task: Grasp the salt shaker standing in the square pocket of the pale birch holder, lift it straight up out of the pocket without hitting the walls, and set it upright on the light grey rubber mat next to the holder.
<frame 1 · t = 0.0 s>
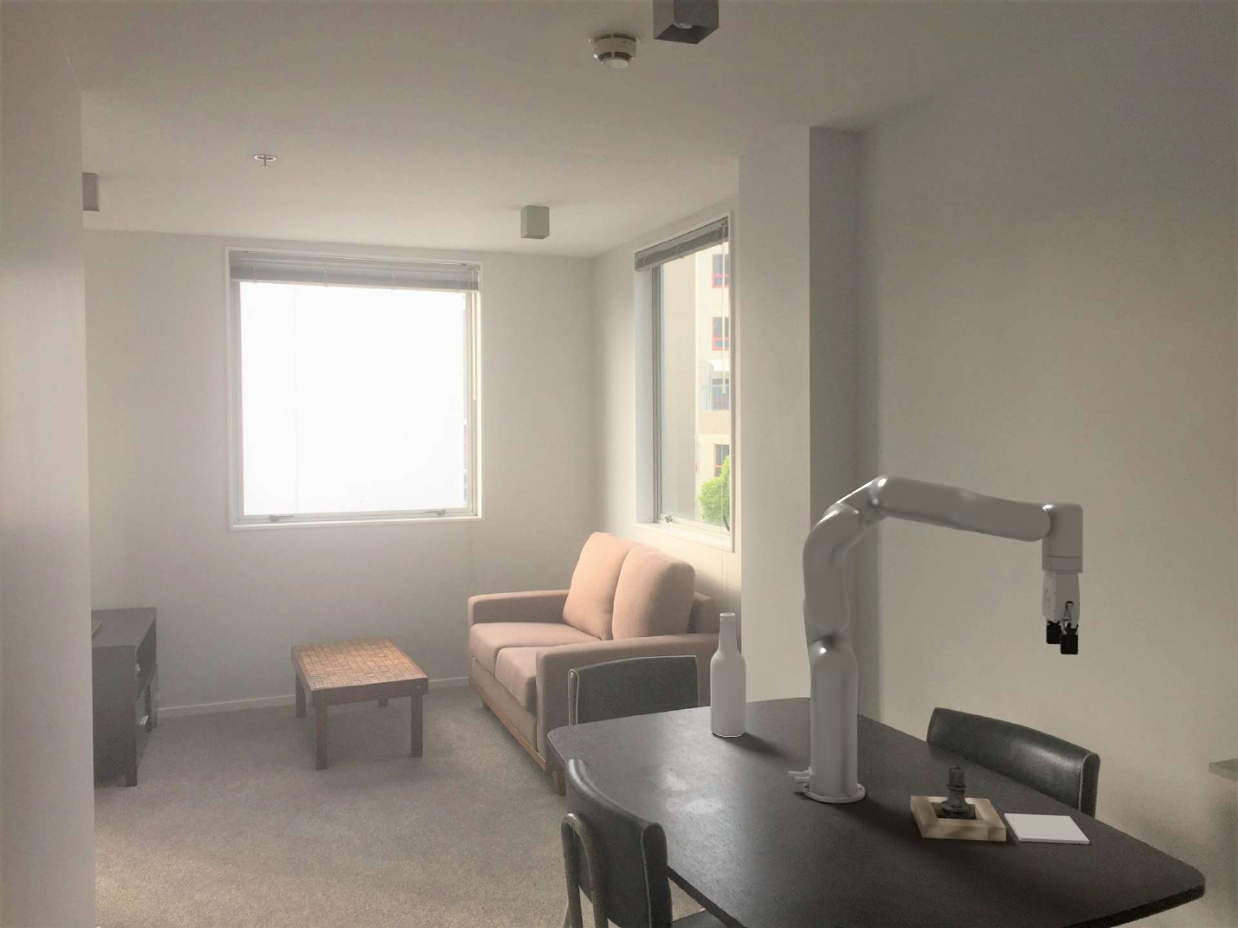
hand: (1061, 648, 204), 31 cm above the table, tool pointing down, fingers open, 9 cm apart
rubber mat: (1045, 829, 191), on the table
shaker holder: (956, 823, 194), on the table
alcohol: (728, 733, 254), on the table
salt shaker: (956, 824, 194), resting in shaker holder
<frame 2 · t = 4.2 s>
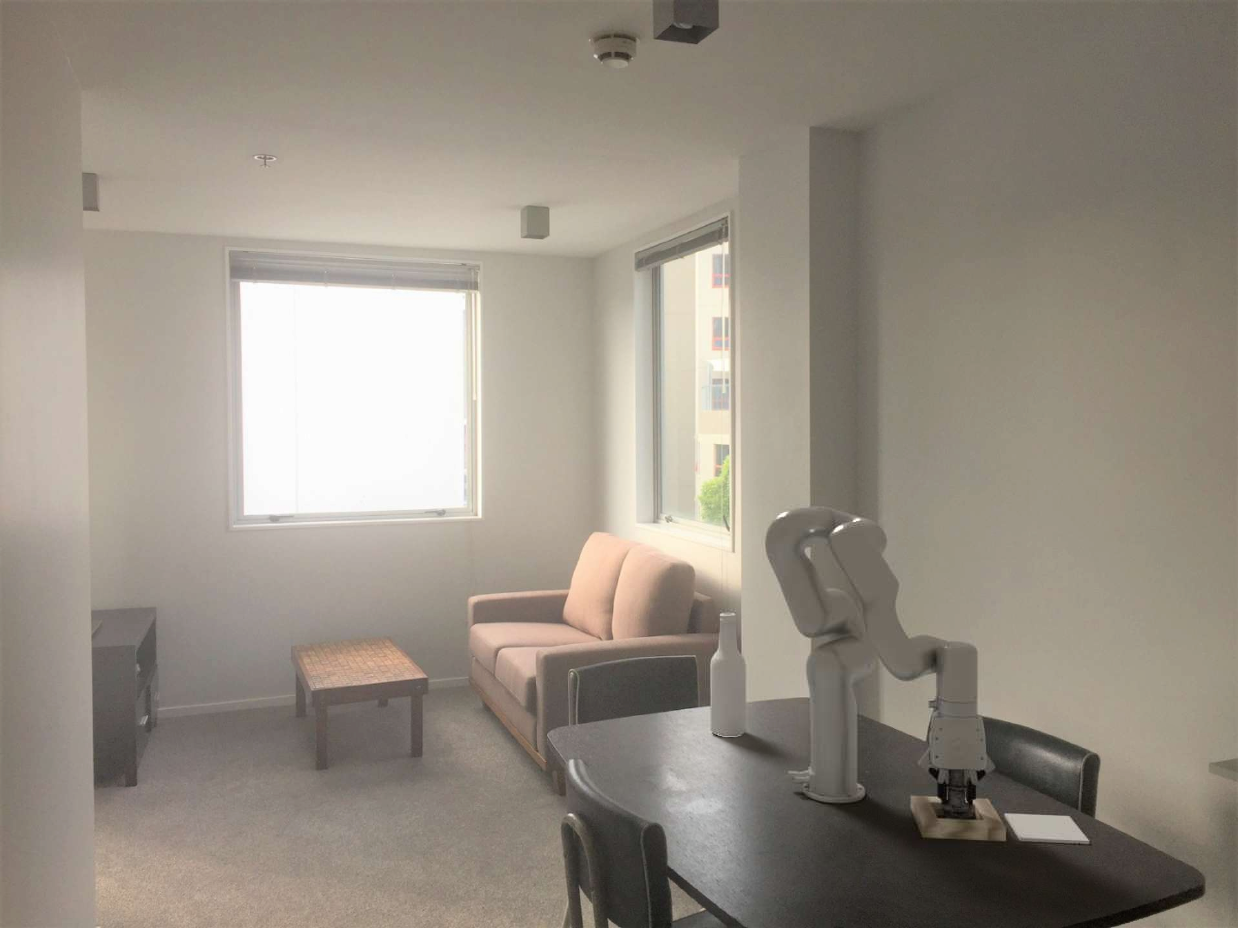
hand: (956, 801, 194), 4 cm above the table, tool pointing down, fingers closed on salt shaker, 4 cm apart
salt shaker: (956, 824, 194), resting in shaker holder, touching gripper
everything else where it was.
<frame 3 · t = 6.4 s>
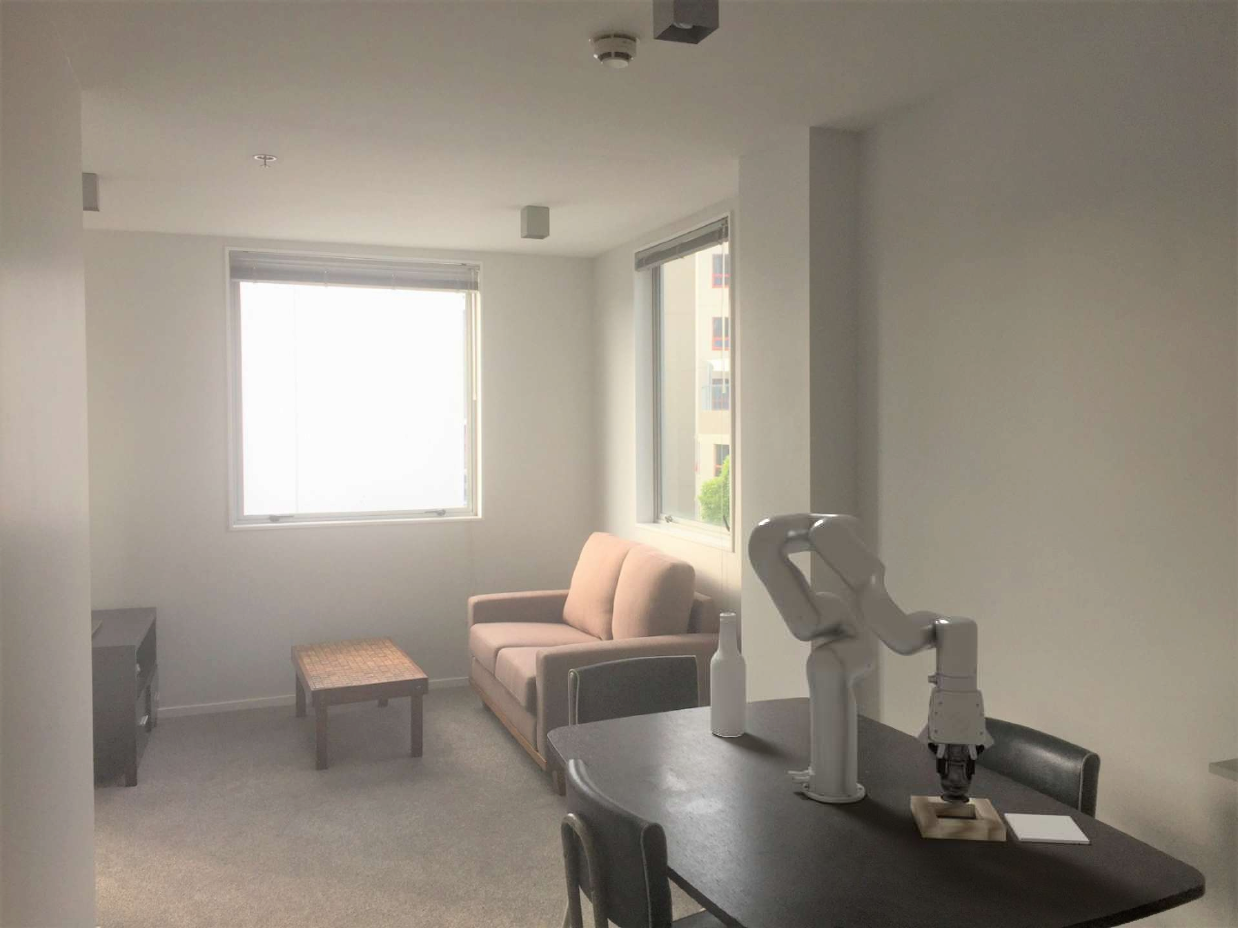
hand: (955, 776, 194), 9 cm above the table, tool pointing down, fingers closed on salt shaker, 4 cm apart
salt shaker: (955, 799, 194), point 5 cm above the table, touching gripper
everything else where it was.
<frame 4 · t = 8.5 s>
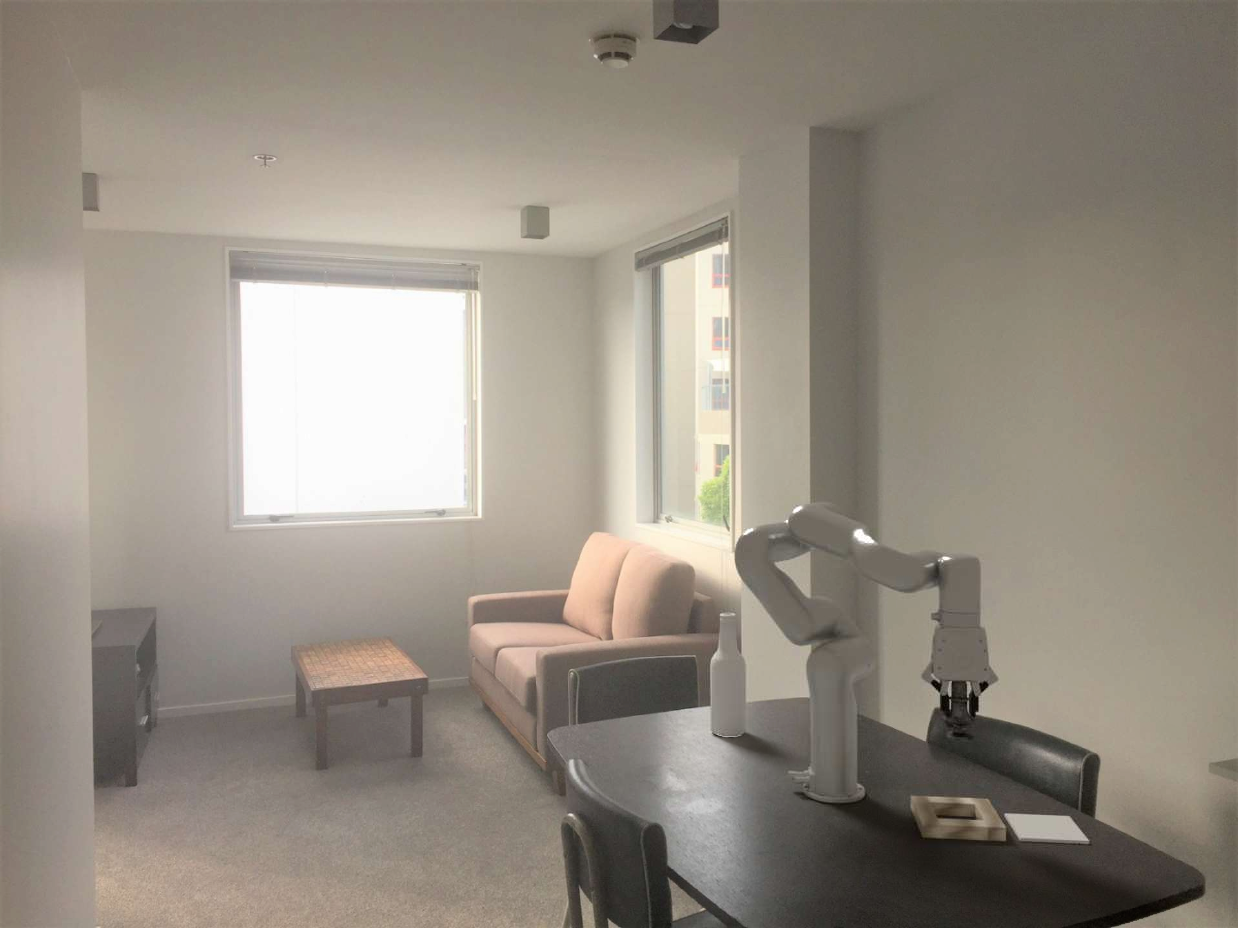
hand: (959, 713, 193), 21 cm above the table, tool pointing down, fingers closed on salt shaker, 4 cm apart
salt shaker: (959, 737, 193), point 17 cm above the table, touching gripper
everything else where it was.
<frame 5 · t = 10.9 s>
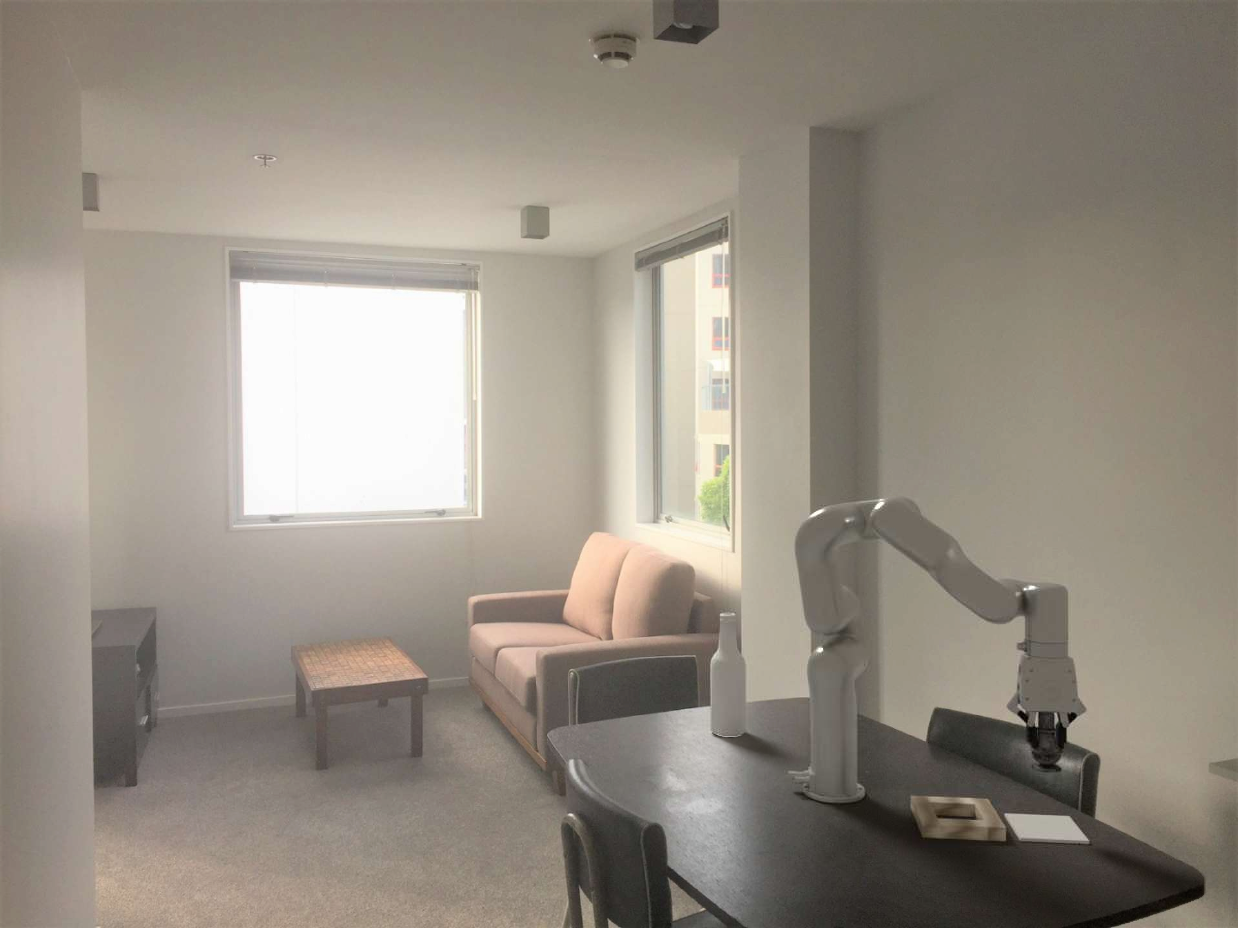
hand: (1046, 745, 190), 16 cm above the table, tool pointing down, fingers closed on salt shaker, 4 cm apart
salt shaker: (1046, 769, 190), point 12 cm above the table, touching gripper
everything else where it was.
when the fingers open (6 cm above the table, at t = 12.9 s): salt shaker drops 1 cm, resting on rubber mat.
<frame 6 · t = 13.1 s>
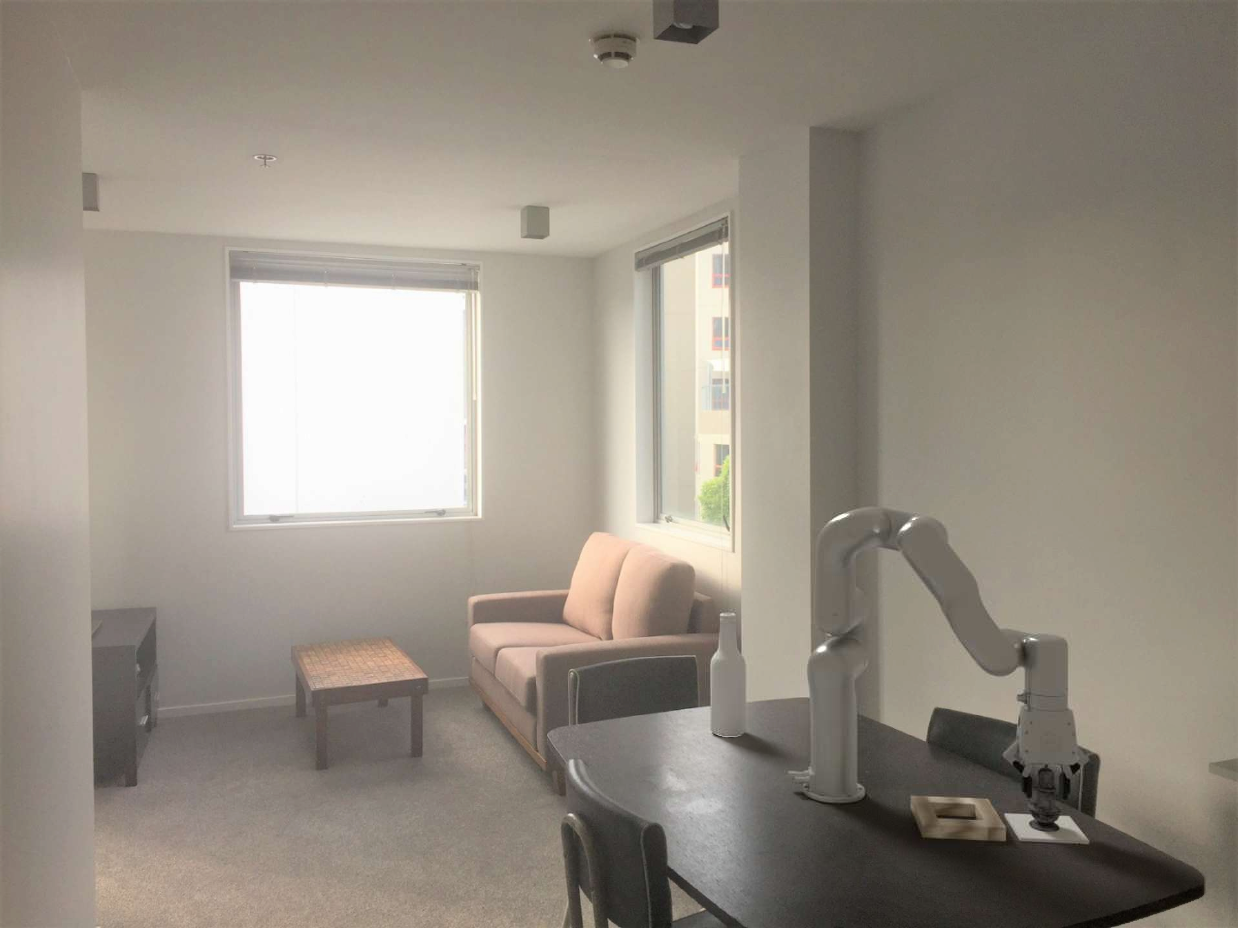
hand: (1045, 795, 191), 6 cm above the table, tool pointing down, fingers open, 5 cm apart
salt shaker: (1044, 826, 191), resting on rubber mat
everything else where it was.
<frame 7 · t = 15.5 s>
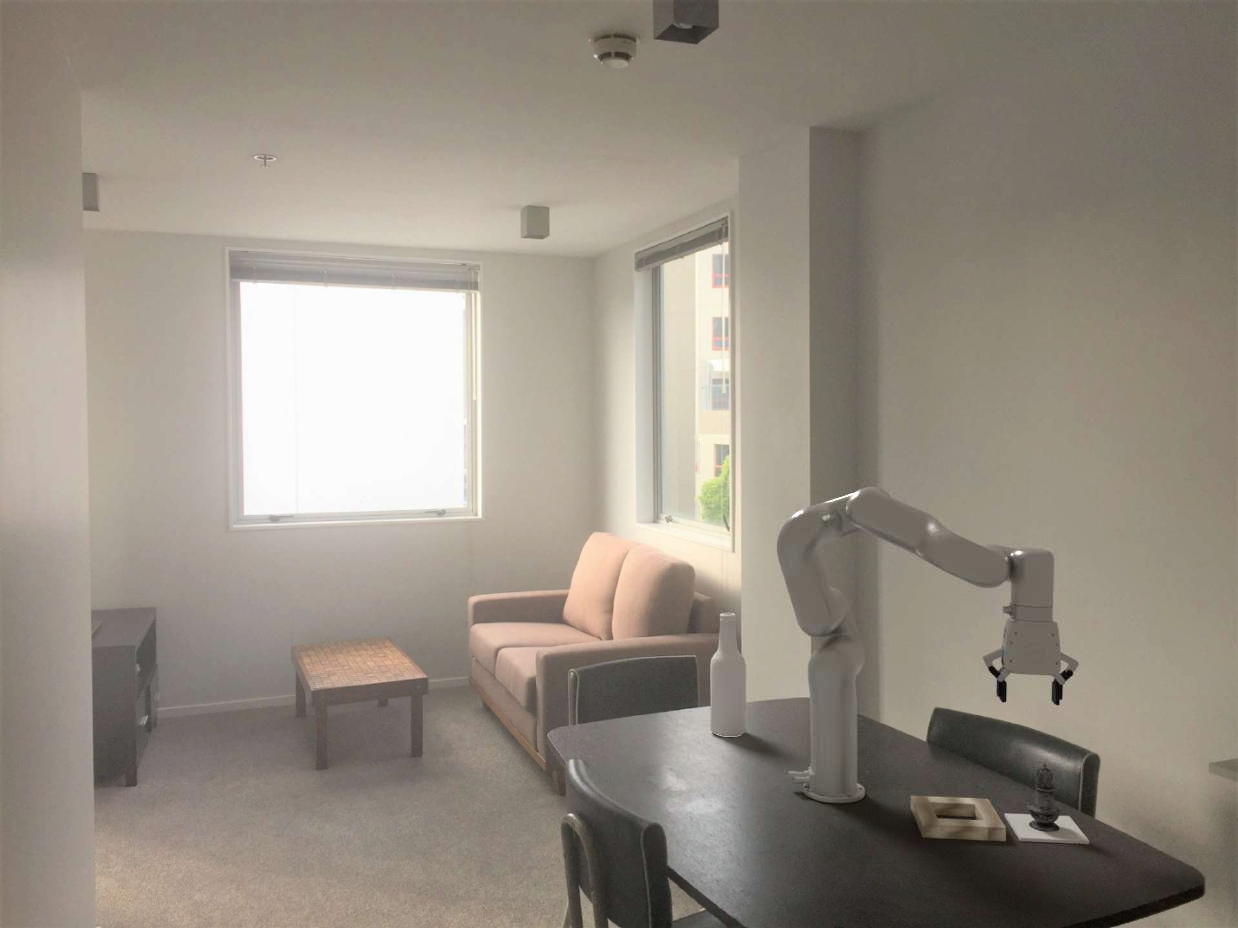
hand: (1028, 701, 194), 23 cm above the table, tool pointing down, fingers open, 9 cm apart
nothing on the table moved.
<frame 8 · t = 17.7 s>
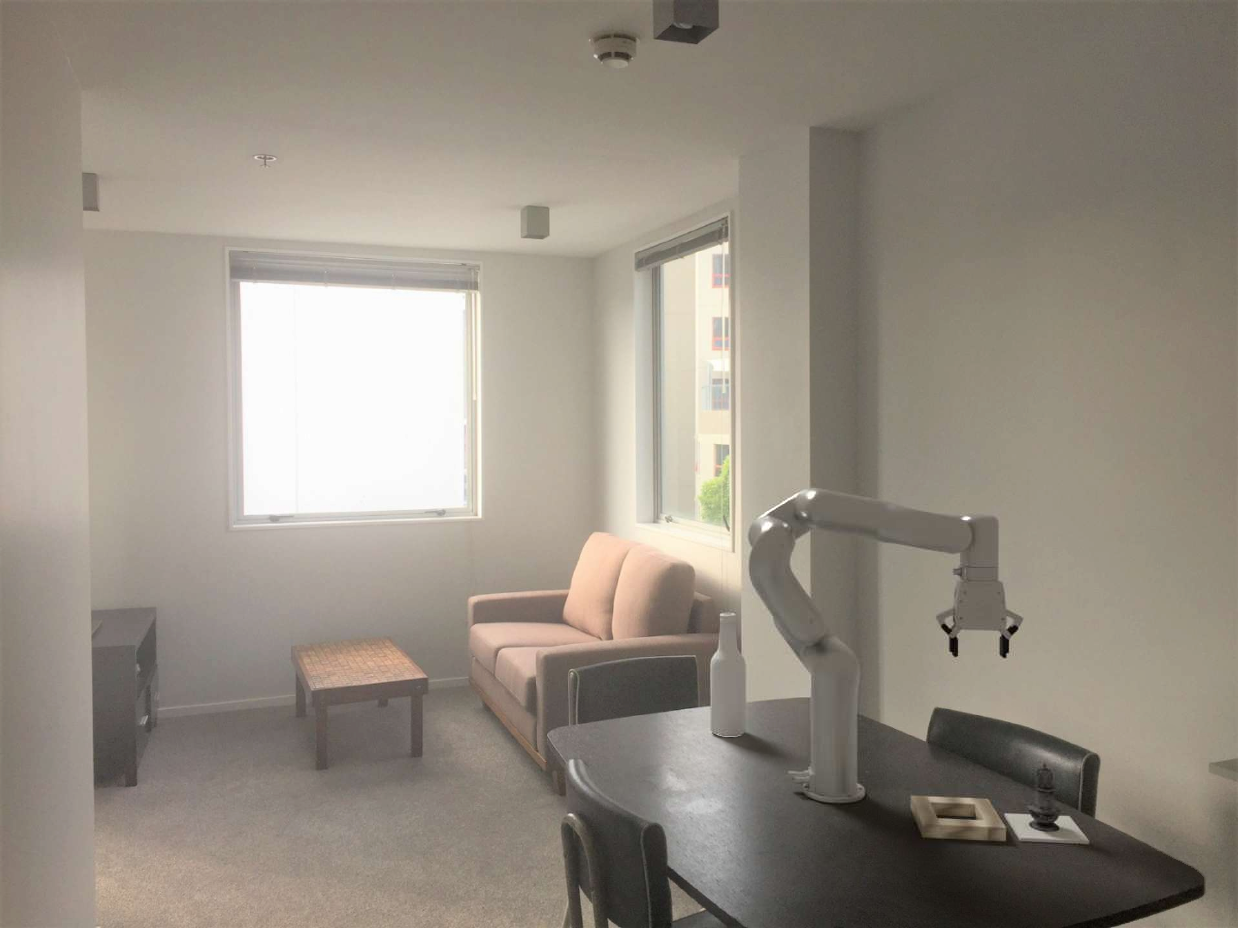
hand: (978, 656, 211), 28 cm above the table, tool pointing down, fingers open, 9 cm apart
nothing on the table moved.
at the end: salt shaker inside the target area on the rubber mat (0.2 cm from its centre), point 0.4 cm above the rubber mat's base; salt shaker tilted 0°; the gripper is holding nothing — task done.
